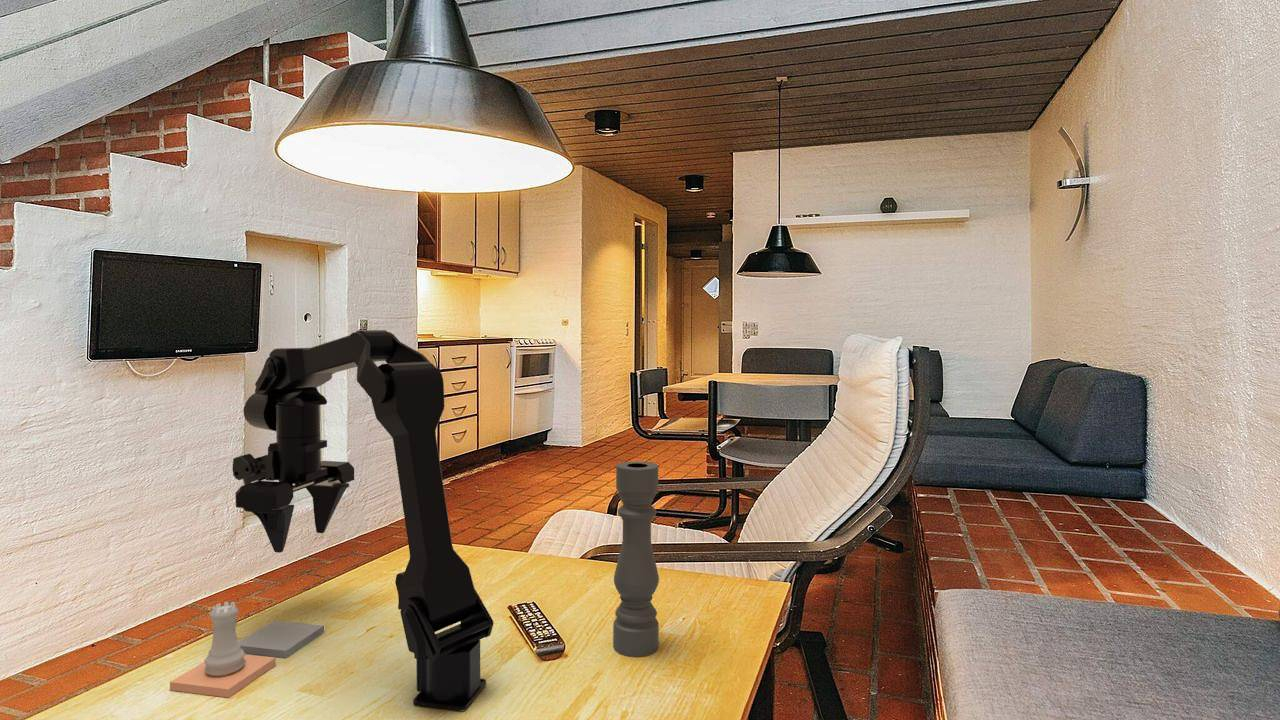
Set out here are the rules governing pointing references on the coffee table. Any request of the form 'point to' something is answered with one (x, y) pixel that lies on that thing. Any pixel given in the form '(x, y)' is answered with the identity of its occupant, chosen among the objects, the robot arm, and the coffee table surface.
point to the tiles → (251, 658)
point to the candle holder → (636, 561)
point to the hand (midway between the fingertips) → (300, 542)
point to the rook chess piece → (224, 642)
